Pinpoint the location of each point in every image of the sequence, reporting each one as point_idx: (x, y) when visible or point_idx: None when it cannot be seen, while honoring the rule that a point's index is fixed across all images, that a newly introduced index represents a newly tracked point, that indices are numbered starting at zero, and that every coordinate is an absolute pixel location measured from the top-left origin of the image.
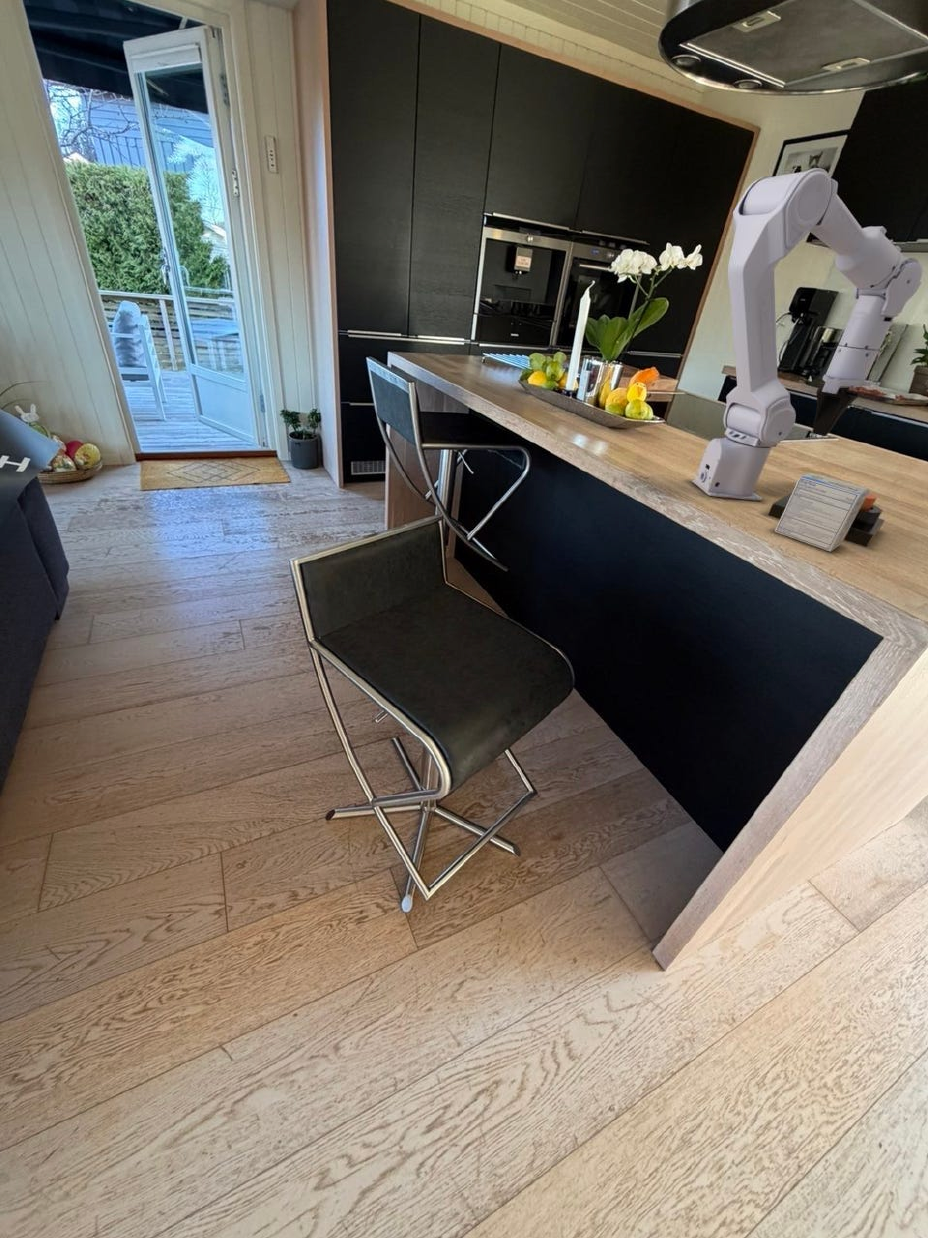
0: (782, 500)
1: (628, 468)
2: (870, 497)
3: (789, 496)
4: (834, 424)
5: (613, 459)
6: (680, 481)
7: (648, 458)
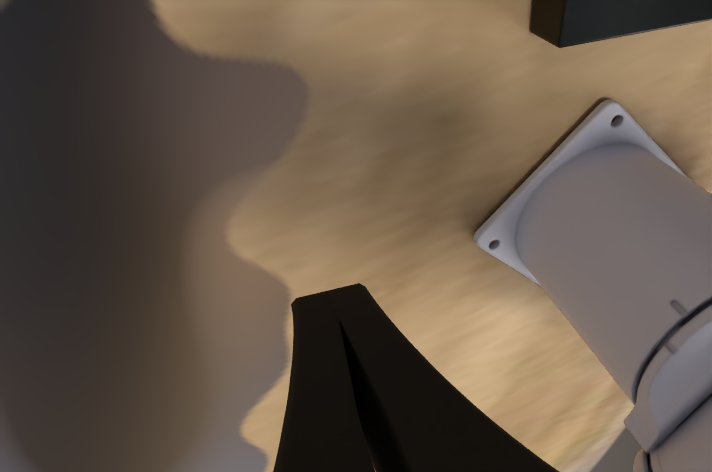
0: None
1: (605, 408)
2: None
3: (638, 17)
4: (311, 362)
5: (558, 458)
6: None
7: None
